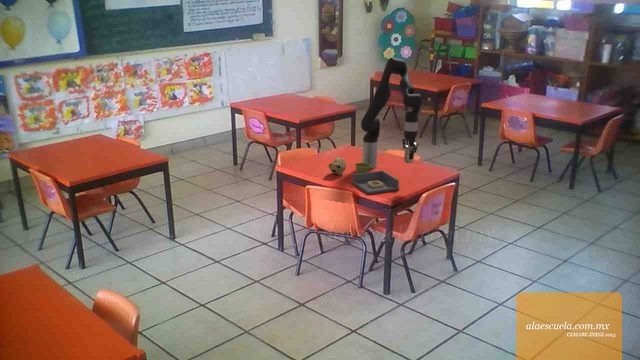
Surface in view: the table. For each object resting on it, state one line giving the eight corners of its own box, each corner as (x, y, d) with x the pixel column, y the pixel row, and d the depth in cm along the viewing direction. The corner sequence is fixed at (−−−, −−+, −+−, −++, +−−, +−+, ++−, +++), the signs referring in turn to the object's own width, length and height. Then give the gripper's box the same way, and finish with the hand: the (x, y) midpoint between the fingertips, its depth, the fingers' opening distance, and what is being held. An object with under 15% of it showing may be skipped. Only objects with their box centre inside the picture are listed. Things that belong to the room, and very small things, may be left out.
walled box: (352, 184, 355) (352, 174, 353) (382, 179, 363) (382, 170, 361) (368, 194, 338) (368, 184, 336) (399, 190, 346) (399, 180, 344)
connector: (404, 161, 346) (404, 146, 343) (410, 160, 347) (410, 145, 344) (407, 163, 342) (408, 148, 339) (413, 162, 344) (414, 147, 341)
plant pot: (351, 178, 365) (351, 164, 362) (361, 174, 372) (362, 161, 369) (362, 182, 359) (363, 168, 356) (373, 178, 365) (373, 164, 362)
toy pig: (325, 176, 369) (325, 159, 366) (333, 170, 379) (333, 154, 376) (340, 178, 365) (340, 161, 362) (348, 172, 375) (348, 156, 372)
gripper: (423, 131, 334) (421, 160, 339) (409, 125, 346) (408, 154, 352) (411, 132, 331) (409, 162, 336) (398, 126, 343) (397, 155, 349)
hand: (409, 157), depth 344 cm, fingers closed on connector, 4 cm apart
